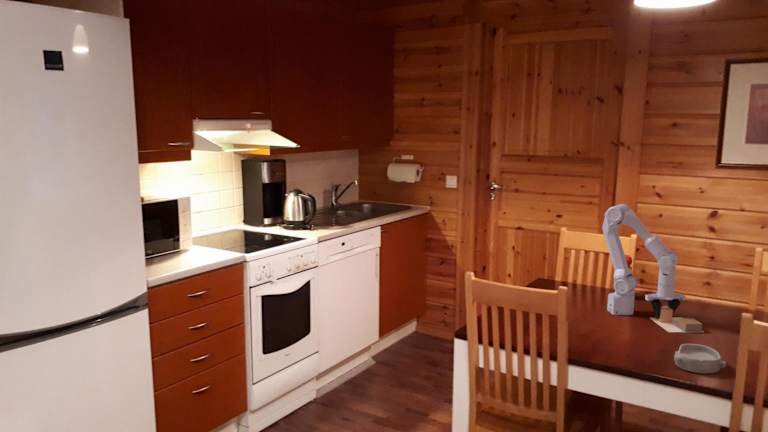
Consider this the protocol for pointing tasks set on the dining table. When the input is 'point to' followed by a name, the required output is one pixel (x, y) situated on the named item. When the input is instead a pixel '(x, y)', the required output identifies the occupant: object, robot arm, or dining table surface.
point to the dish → (698, 358)
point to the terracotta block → (665, 314)
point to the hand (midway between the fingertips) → (663, 318)
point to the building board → (669, 325)
